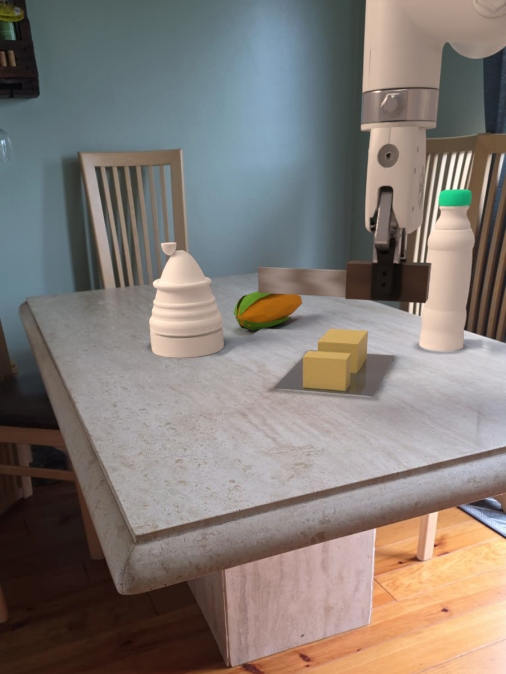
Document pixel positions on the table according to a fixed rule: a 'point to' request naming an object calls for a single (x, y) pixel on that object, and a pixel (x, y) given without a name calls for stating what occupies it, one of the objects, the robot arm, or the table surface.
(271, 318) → the corn
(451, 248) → the water bottle
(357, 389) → the butter dish
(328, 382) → the block
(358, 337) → the butter block
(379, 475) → the table surface
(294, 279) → the knife
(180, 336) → the honey pot
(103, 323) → the table surface
